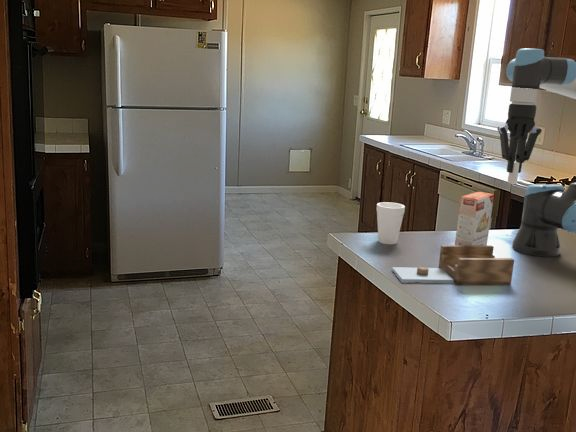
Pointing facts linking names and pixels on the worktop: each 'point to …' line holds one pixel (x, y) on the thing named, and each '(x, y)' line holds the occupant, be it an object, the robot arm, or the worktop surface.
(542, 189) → the robot arm
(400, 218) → the foam cup
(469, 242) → the cracker box
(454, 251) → the box
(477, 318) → the worktop surface
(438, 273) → the lid
